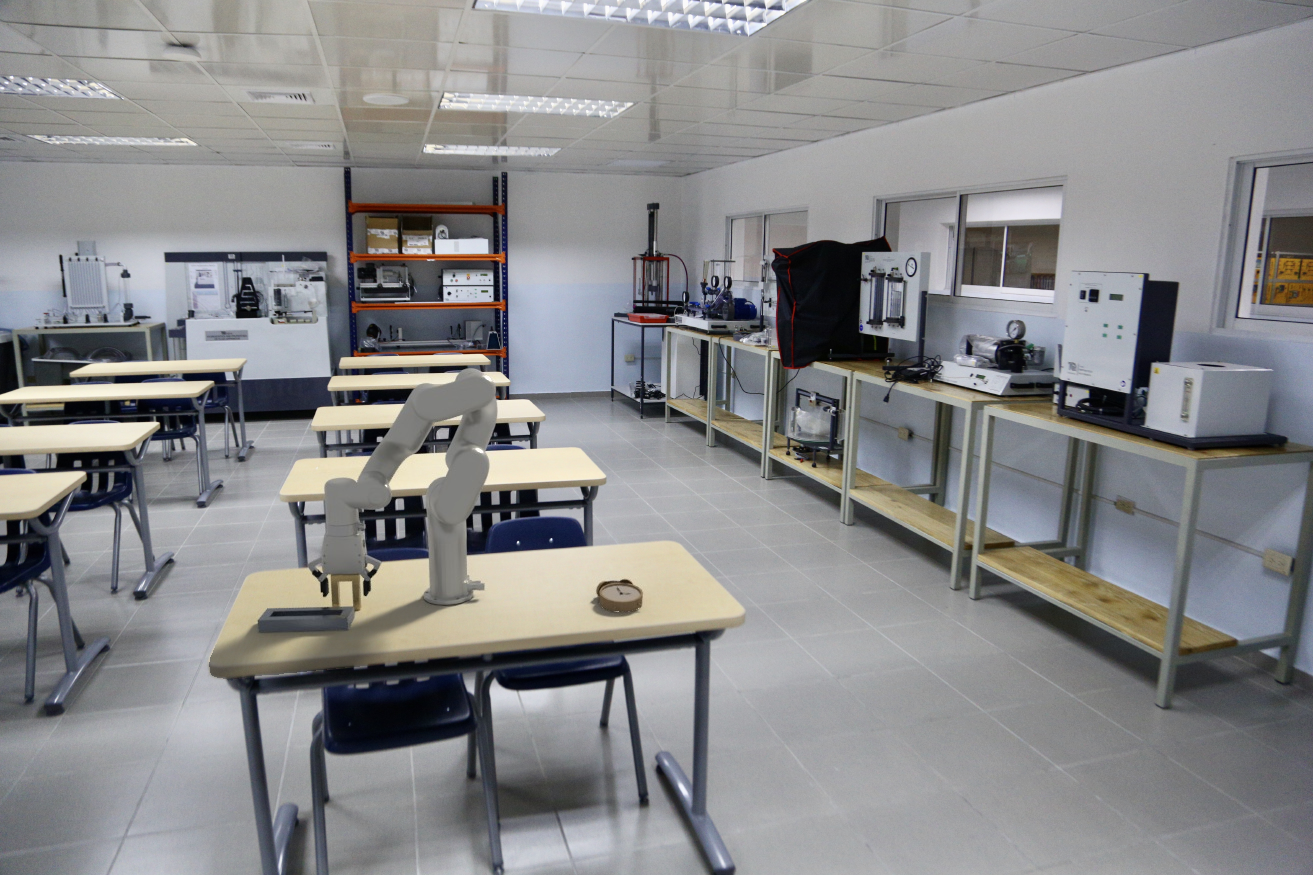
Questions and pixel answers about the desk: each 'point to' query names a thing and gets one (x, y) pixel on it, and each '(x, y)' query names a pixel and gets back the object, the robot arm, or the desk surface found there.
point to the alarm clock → (619, 595)
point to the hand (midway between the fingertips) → (346, 594)
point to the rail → (306, 619)
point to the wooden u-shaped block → (355, 589)
